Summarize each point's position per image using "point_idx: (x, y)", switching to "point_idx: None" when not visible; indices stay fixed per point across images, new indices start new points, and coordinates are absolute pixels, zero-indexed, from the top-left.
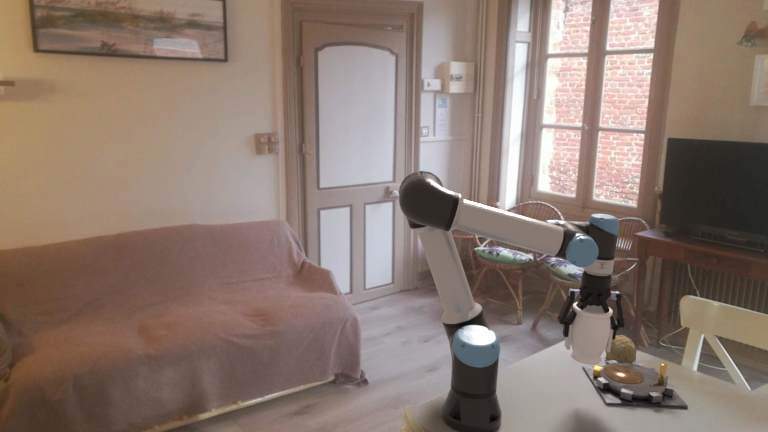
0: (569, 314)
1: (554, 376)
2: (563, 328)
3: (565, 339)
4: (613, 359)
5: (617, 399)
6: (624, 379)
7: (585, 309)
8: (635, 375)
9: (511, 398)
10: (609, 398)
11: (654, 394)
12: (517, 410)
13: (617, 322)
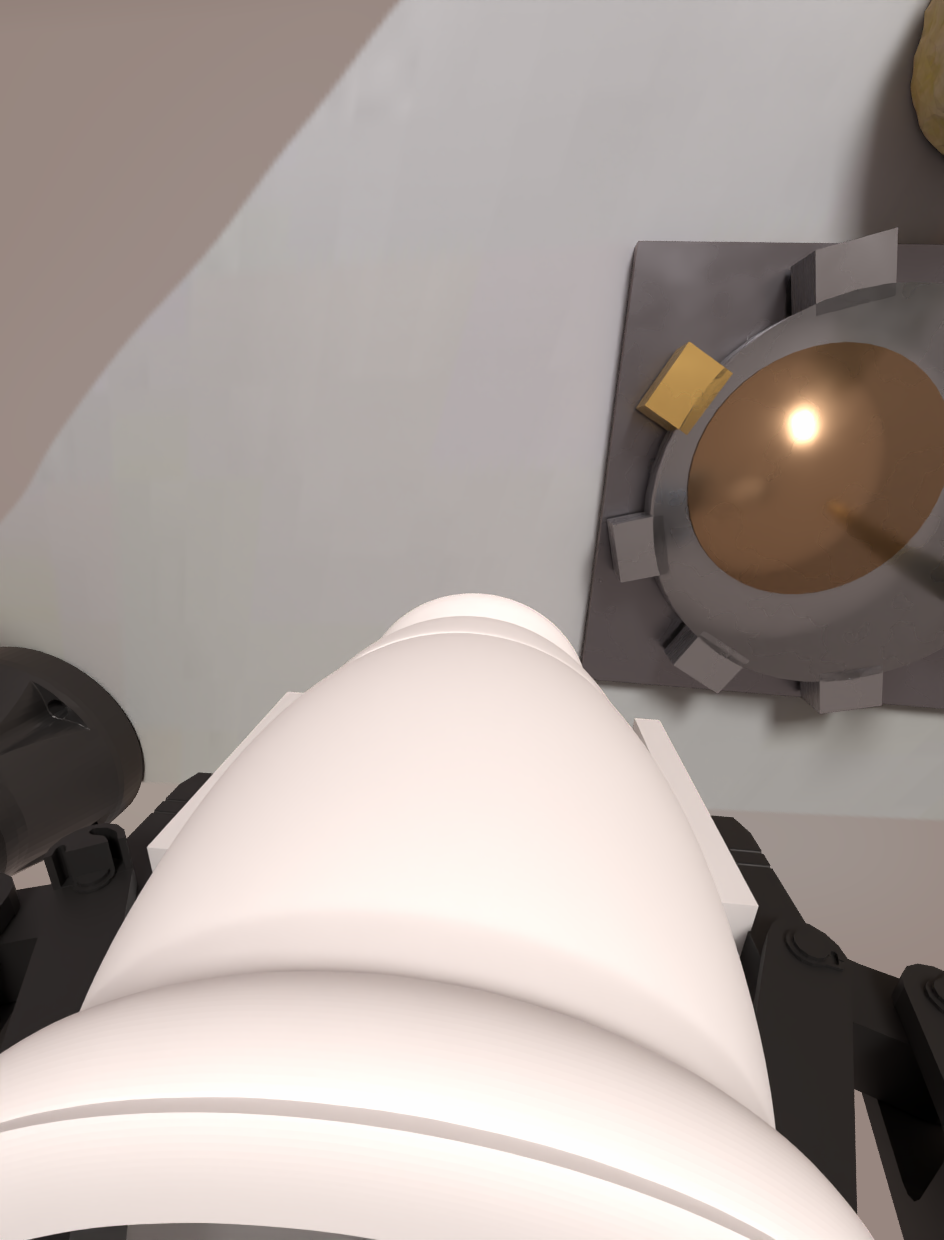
0: (22, 1032)
1: (419, 386)
2: (140, 835)
3: (260, 729)
4: (936, 116)
5: (646, 654)
6: (770, 553)
7: (400, 850)
8: (880, 499)
9: (183, 614)
10: (611, 645)
11: (839, 698)
12: (203, 699)
13: (881, 1061)
